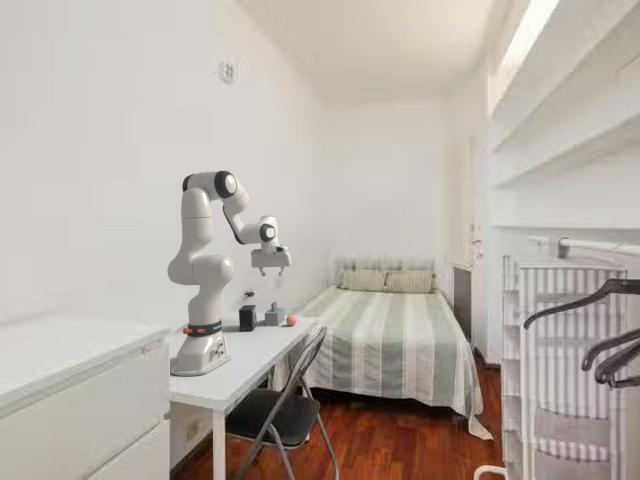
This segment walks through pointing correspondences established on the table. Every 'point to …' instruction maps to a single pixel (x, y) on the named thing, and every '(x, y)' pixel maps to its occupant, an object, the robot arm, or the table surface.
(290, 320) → the ball
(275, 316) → the gray hook block
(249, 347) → the table surface
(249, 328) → the small box
